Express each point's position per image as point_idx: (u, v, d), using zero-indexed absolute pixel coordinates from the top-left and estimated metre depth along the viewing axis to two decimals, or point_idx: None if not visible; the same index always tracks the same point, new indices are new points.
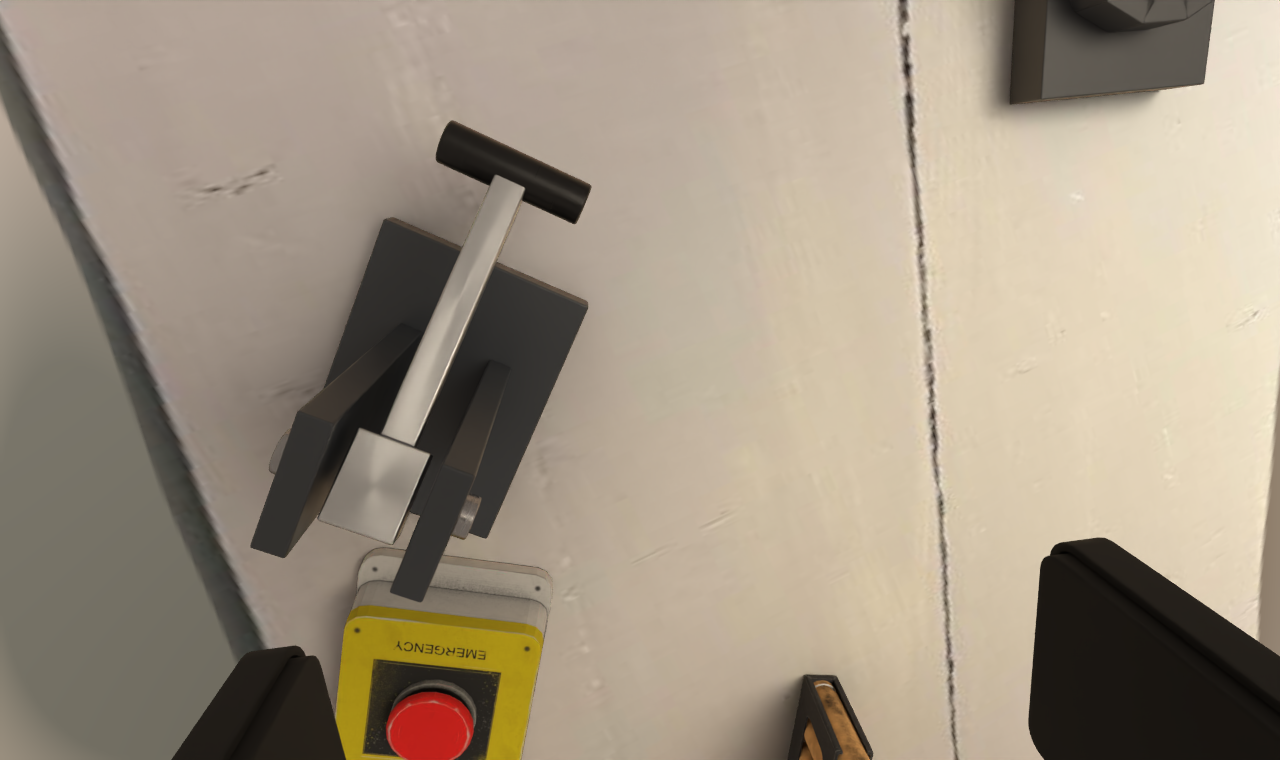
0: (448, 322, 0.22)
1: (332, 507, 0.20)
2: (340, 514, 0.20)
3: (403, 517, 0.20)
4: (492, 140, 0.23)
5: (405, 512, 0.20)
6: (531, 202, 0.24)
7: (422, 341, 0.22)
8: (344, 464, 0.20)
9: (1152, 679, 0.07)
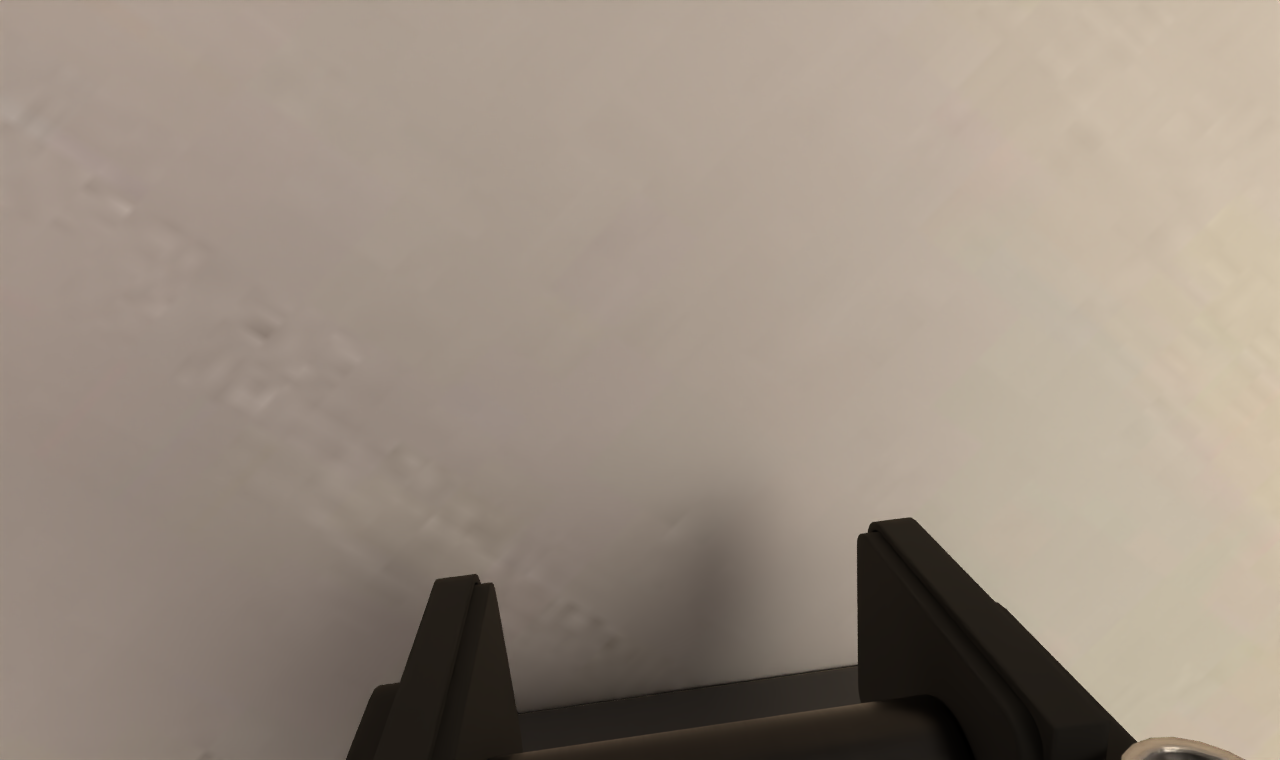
0: None
1: None
2: None
3: None
4: None
5: None
6: None
7: None
8: None
9: (918, 639, 0.08)
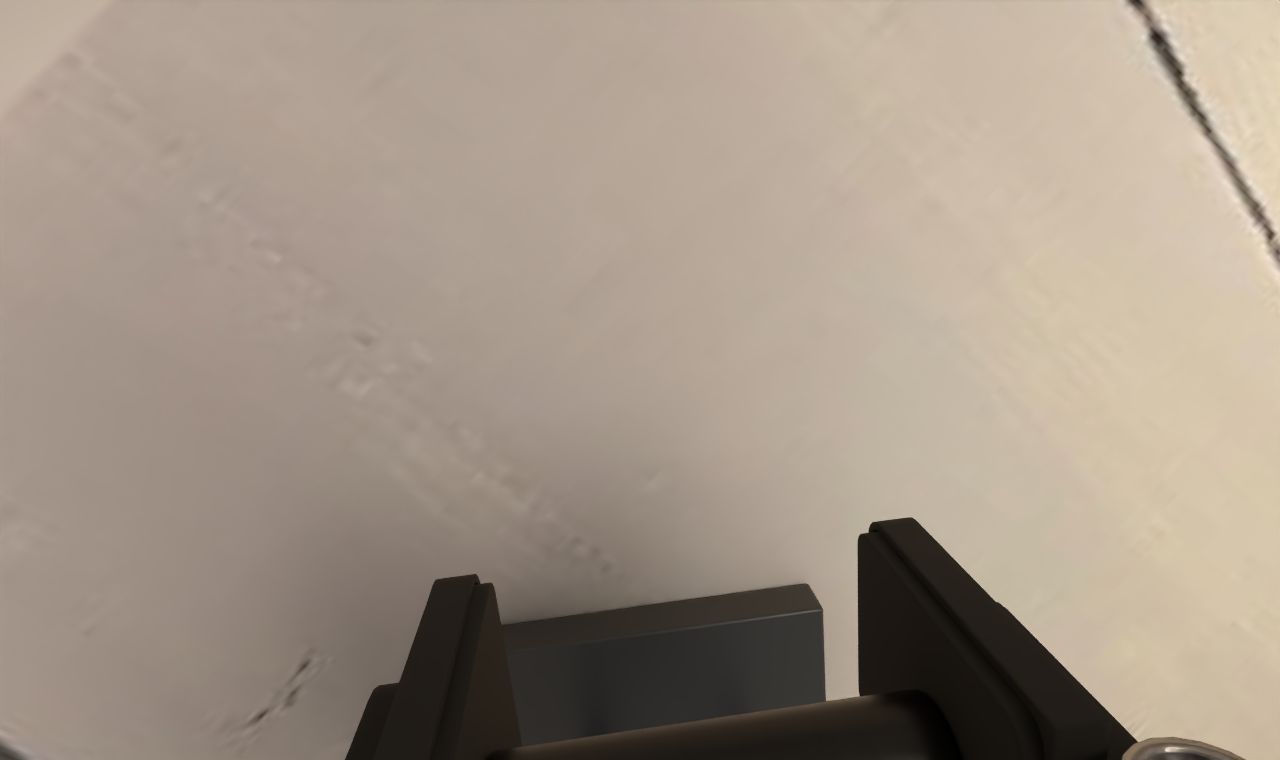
0: None
1: None
2: None
3: None
4: None
5: None
6: None
7: None
8: None
9: (918, 639, 0.08)
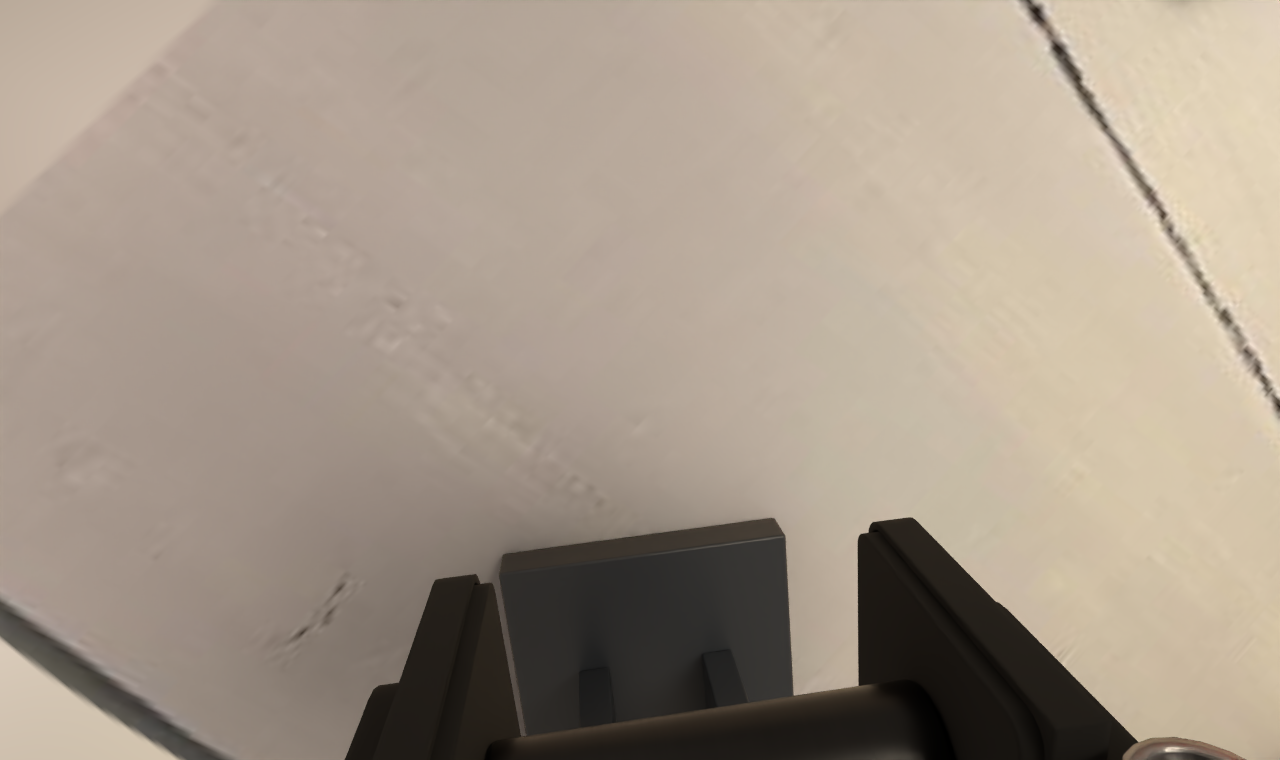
0: None
1: None
2: None
3: None
4: None
5: None
6: None
7: None
8: None
9: (918, 639, 0.08)
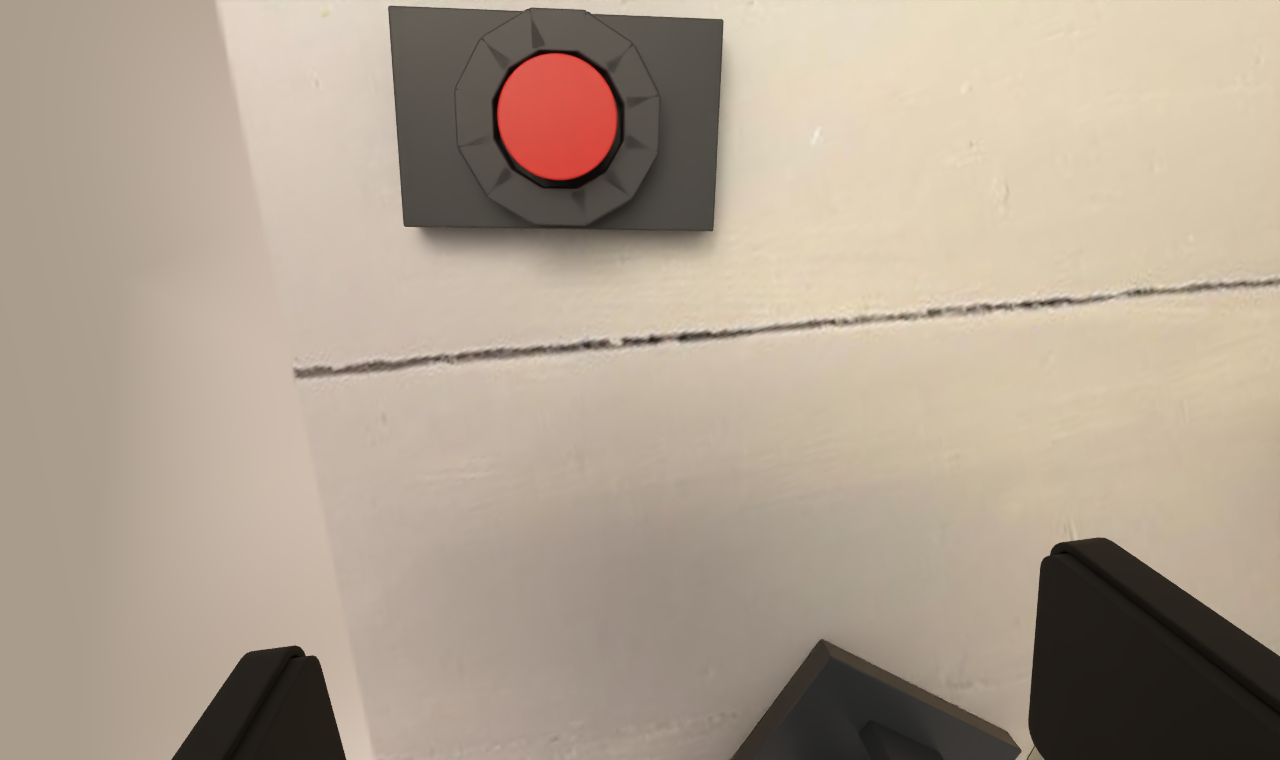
0: None
1: None
2: None
3: None
4: None
5: None
6: None
7: None
8: None
9: (1152, 679, 0.07)
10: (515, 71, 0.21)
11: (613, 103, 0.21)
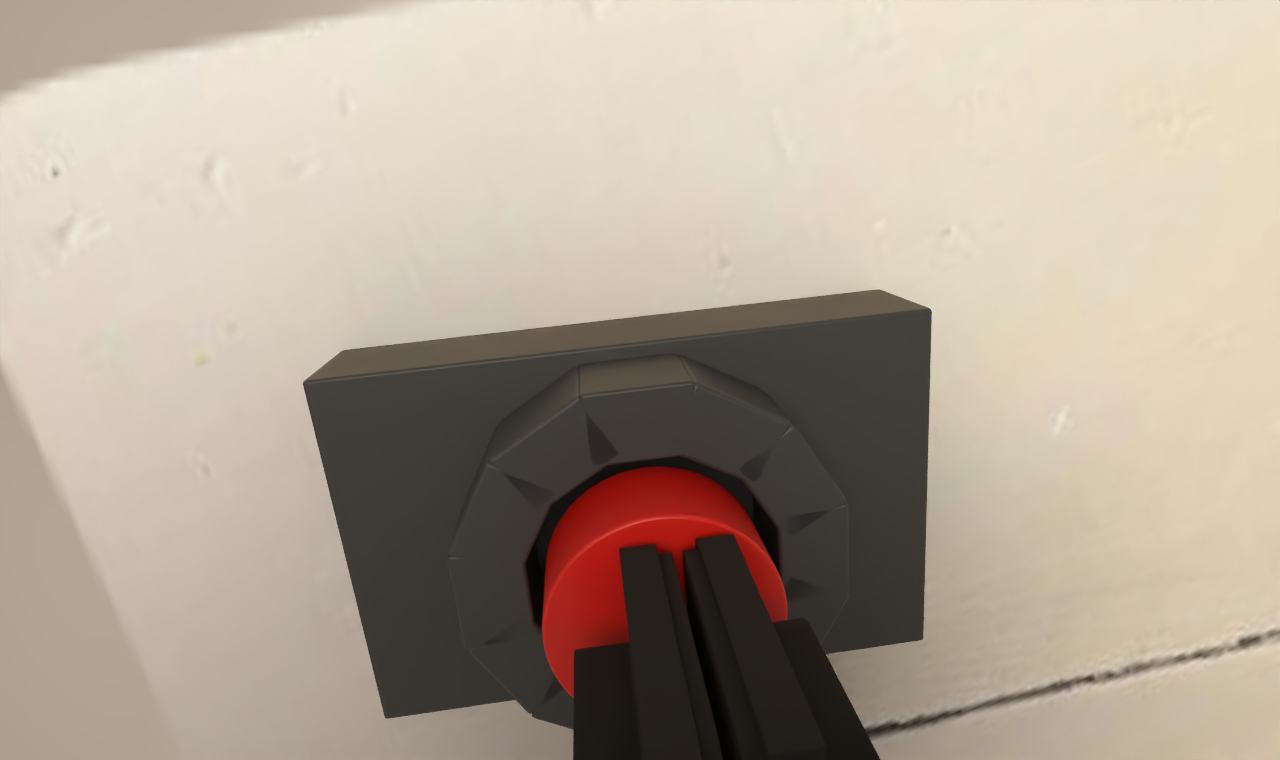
0: None
1: None
2: None
3: None
4: None
5: None
6: None
7: None
8: None
9: (707, 658, 0.08)
10: (572, 564, 0.10)
11: (779, 584, 0.10)
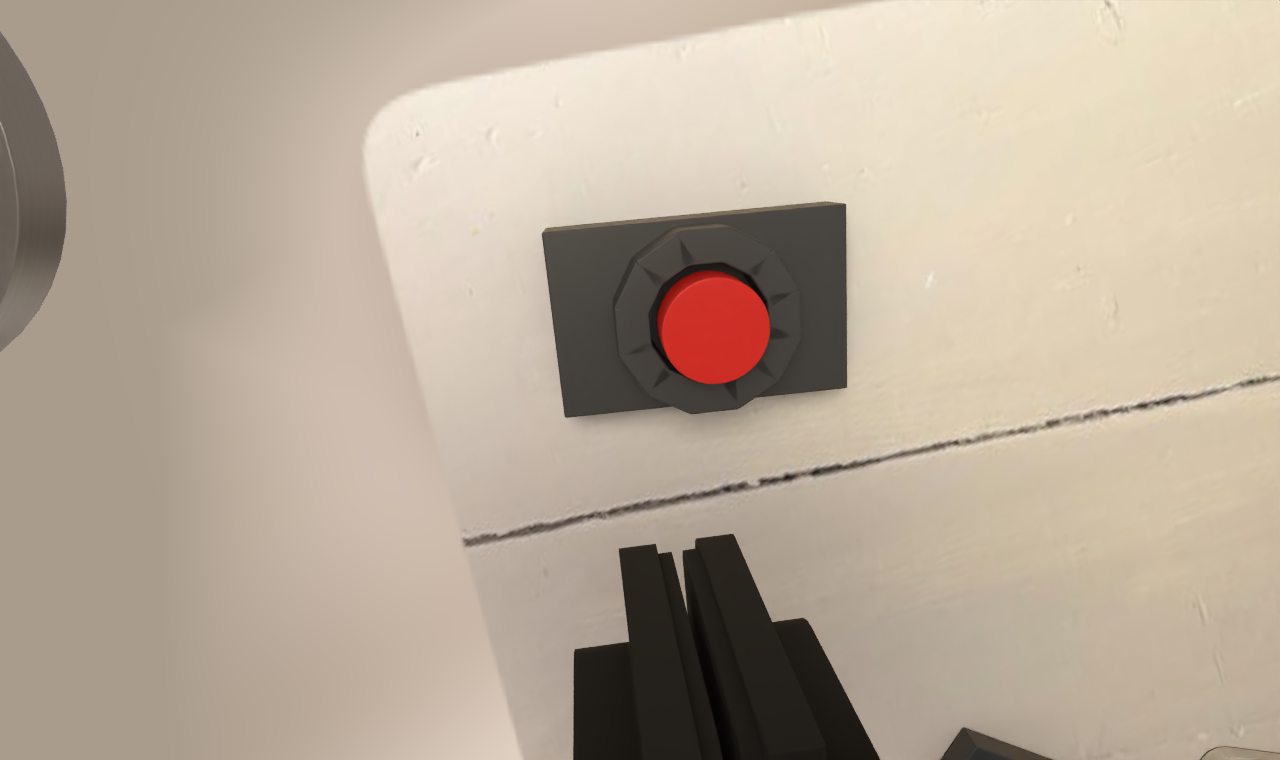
0: None
1: None
2: None
3: None
4: None
5: None
6: None
7: None
8: None
9: (707, 658, 0.08)
10: (676, 298, 0.23)
11: (766, 313, 0.23)
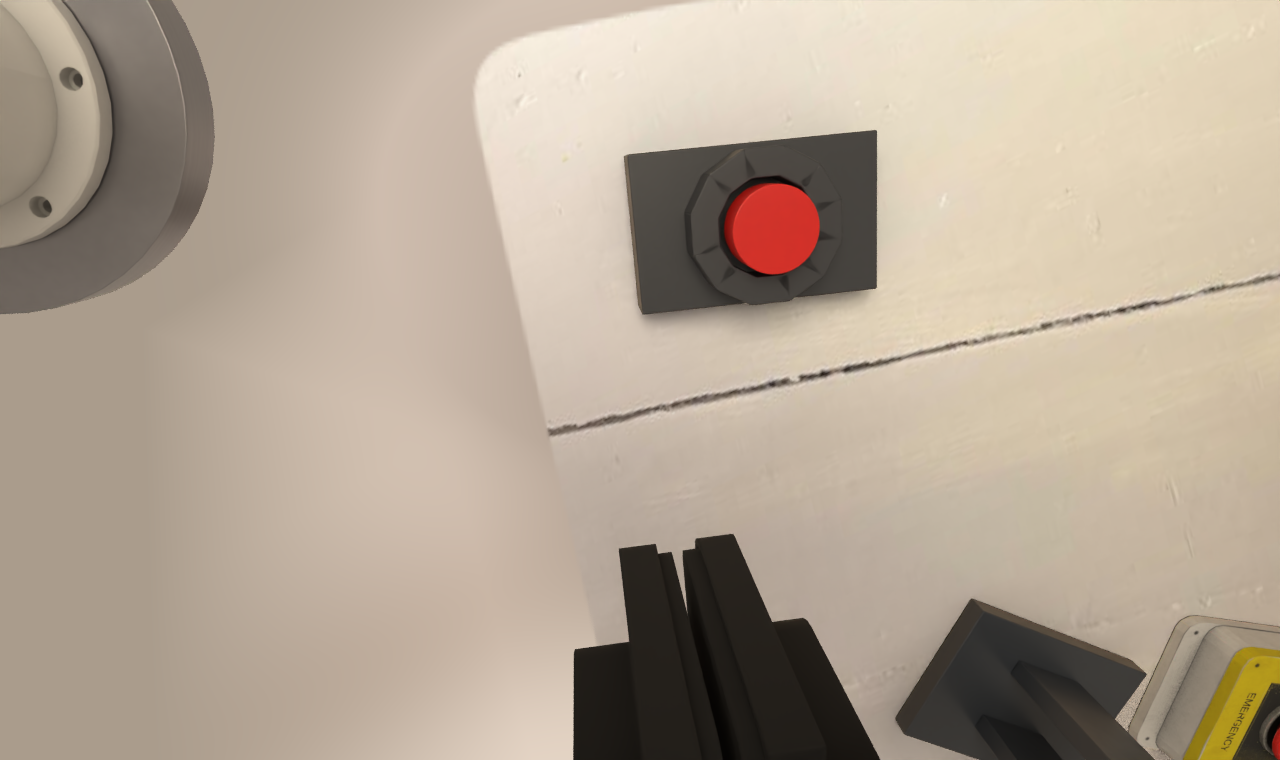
0: None
1: None
2: None
3: None
4: None
5: None
6: None
7: None
8: None
9: (707, 658, 0.08)
10: (745, 201, 0.28)
11: (816, 214, 0.28)
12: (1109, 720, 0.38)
